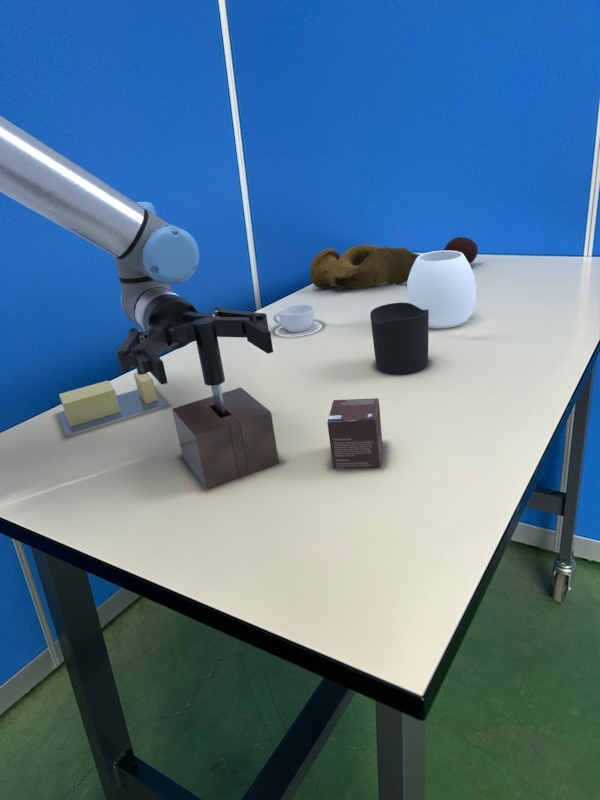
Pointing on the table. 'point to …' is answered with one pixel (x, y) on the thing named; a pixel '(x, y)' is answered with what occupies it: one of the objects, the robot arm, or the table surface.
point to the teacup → (296, 319)
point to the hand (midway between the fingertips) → (217, 357)
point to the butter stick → (89, 403)
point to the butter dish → (128, 406)
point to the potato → (463, 247)
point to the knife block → (226, 438)
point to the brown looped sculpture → (361, 266)
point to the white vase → (443, 288)
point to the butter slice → (146, 387)
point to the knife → (210, 360)
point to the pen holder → (400, 338)
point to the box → (355, 434)
